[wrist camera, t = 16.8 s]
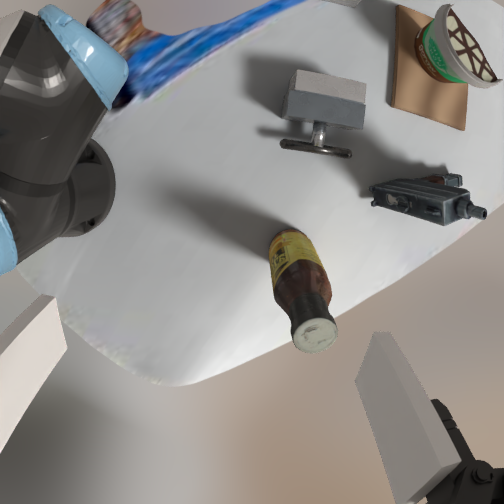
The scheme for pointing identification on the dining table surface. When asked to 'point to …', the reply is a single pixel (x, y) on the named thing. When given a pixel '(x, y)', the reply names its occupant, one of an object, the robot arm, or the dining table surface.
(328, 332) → the sauce bottle
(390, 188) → the gun
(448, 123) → the light brown board
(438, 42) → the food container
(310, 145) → the grey blocks
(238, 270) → the dining table surface
